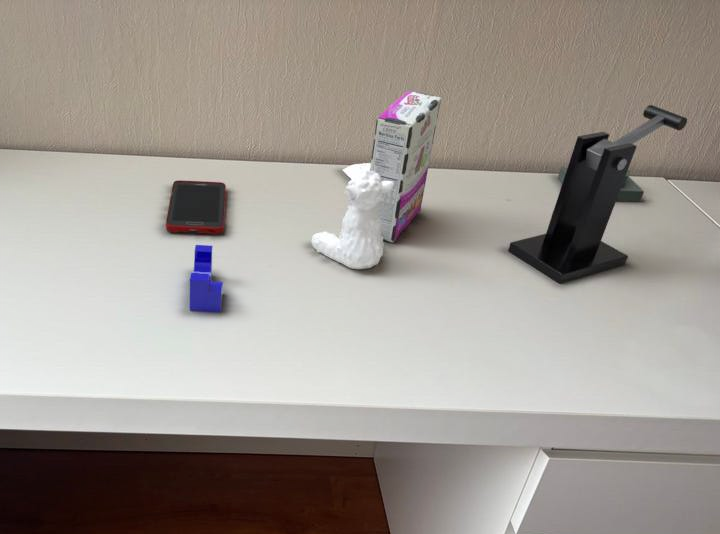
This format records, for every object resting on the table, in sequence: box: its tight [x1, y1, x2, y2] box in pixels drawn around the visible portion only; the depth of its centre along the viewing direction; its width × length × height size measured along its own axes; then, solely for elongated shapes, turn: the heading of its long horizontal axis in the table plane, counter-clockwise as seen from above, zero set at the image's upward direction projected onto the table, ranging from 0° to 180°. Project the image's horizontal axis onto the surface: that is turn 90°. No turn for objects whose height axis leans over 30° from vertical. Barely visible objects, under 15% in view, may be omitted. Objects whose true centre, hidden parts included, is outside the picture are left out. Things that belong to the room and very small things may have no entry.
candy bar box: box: [370, 90, 442, 244], centre depth 99 cm, size 11×5×16 cm, turn 150°
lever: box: [586, 104, 688, 171], centre depth 91 cm, size 12×5×2 cm, turn 118°
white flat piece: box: [342, 162, 371, 180], centre depth 112 cm, size 5×15×1 cm, turn 16°
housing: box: [557, 167, 645, 203], centre depth 116 cm, size 10×8×4 cm
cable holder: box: [189, 244, 224, 313], centre depth 86 cm, size 8×4×4 cm, turn 178°
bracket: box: [507, 131, 637, 284], centre depth 94 cm, size 12×9×16 cm
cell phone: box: [165, 179, 227, 235], centre depth 104 cm, size 8×15×1 cm, turn 0°
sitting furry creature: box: [311, 170, 394, 270], centre depth 92 cm, size 10×9×12 cm
